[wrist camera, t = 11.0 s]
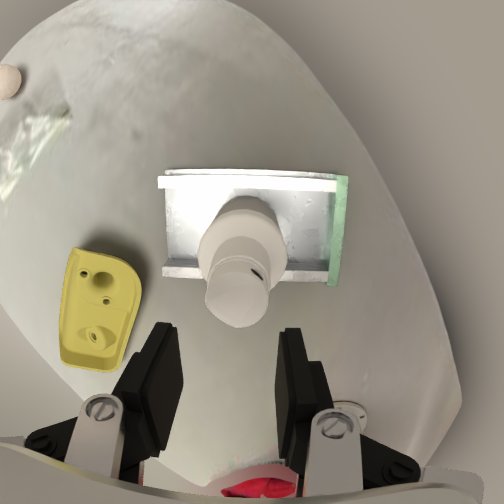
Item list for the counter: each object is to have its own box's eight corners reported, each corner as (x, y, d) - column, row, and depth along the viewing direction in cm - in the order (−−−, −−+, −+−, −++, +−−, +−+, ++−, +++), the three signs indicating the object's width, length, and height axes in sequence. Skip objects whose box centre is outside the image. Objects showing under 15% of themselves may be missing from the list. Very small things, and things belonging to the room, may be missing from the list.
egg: (23, 61, 27) (-8, 53, 20) (33, 82, 28) (-1, 76, 21) (3, 86, 28) (-29, 82, 21) (12, 108, 29) (-22, 106, 22)
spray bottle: (290, 224, 33) (326, 296, 16) (249, 267, 35) (242, 371, 17) (243, 181, 32) (229, 210, 14) (202, 228, 33) (150, 303, 16)
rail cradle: (330, 274, 36) (337, 286, 32) (171, 270, 36) (163, 281, 33) (339, 174, 32) (348, 176, 29) (167, 169, 32) (158, 171, 29)
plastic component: (118, 374, 39) (54, 363, 34) (115, 338, 44) (58, 327, 39) (153, 267, 32) (66, 246, 27) (148, 235, 38) (76, 215, 32)
